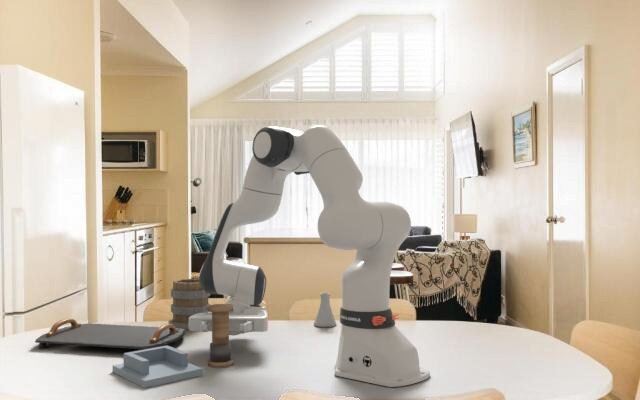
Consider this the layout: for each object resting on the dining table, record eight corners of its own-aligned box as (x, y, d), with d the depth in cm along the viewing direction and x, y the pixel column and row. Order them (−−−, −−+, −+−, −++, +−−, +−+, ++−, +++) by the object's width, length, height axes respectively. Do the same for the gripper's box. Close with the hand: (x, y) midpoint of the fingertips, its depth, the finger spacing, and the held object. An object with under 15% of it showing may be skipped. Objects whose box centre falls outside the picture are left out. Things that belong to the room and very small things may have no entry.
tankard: (198, 330, 184) (198, 280, 184) (161, 328, 188) (161, 279, 188) (228, 318, 203) (228, 273, 203) (194, 316, 207) (194, 271, 207)
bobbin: (238, 364, 147) (238, 306, 147) (216, 369, 143) (216, 309, 143) (224, 359, 152) (224, 302, 152) (203, 363, 148) (203, 305, 147)
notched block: (202, 375, 138) (202, 355, 138) (144, 388, 129) (144, 366, 129) (167, 361, 150) (167, 342, 150) (112, 371, 141) (112, 352, 141)
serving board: (196, 339, 176) (196, 317, 175) (156, 360, 153) (156, 335, 153) (76, 332, 184) (76, 311, 184) (22, 351, 162) (22, 327, 162)
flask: (337, 323, 195) (337, 291, 195) (335, 328, 188) (335, 295, 188) (314, 322, 196) (314, 291, 196) (312, 327, 189) (312, 295, 189)
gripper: (195, 305, 164) (181, 315, 150) (271, 306, 163) (264, 316, 149) (195, 329, 164) (181, 341, 150) (271, 329, 163) (264, 342, 149)
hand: (223, 328), depth 150 cm, fingers open, 8 cm apart
